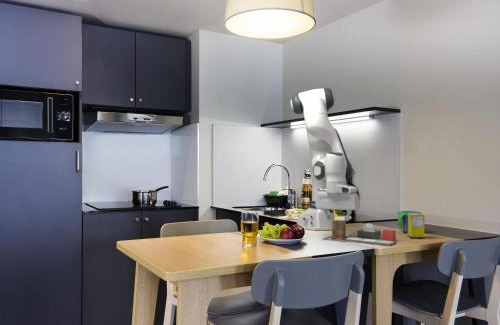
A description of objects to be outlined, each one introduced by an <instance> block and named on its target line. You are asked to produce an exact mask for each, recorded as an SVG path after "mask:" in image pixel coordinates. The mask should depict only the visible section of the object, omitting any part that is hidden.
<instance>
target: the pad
mask: <svg viewBox="0 0 500 325" xmlns="http://www.w3.org/2000/svg"><path fill="white" fill-rule="evenodd" d="M331 236H332V235H329V236H326V237H322V238H321V240H326V241H333V242H334V241H335V242H341V243H346V242H348V241H345V240H334V239H331ZM350 237H351V236H350ZM350 237H348V236H347V238H350Z"/></svg>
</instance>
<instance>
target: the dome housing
mask: <svg viewBox="0 0 500 325" xmlns="http://www.w3.org/2000/svg"><path fill="white" fill-rule="evenodd" d="M356 238H366V239H375V240H381V239H382V230H379V229H375V232H368V231H363V228H362V229H359V230H357V231H356Z"/></svg>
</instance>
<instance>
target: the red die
mask: <svg viewBox="0 0 500 325" xmlns="http://www.w3.org/2000/svg"><path fill="white" fill-rule="evenodd" d="M381 240H385V241H395V240H396V241H397V231H396V229H388V228H385V229H382V230H381ZM396 241H395V242H396Z"/></svg>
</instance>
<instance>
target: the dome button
mask: <svg viewBox="0 0 500 325" xmlns="http://www.w3.org/2000/svg"><path fill="white" fill-rule="evenodd" d="M362 229H363V231H368V232H375V230H376V228H375V225H374V224H372V223H371V222H369V223H366V224H364V225H363V228H362Z"/></svg>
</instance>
